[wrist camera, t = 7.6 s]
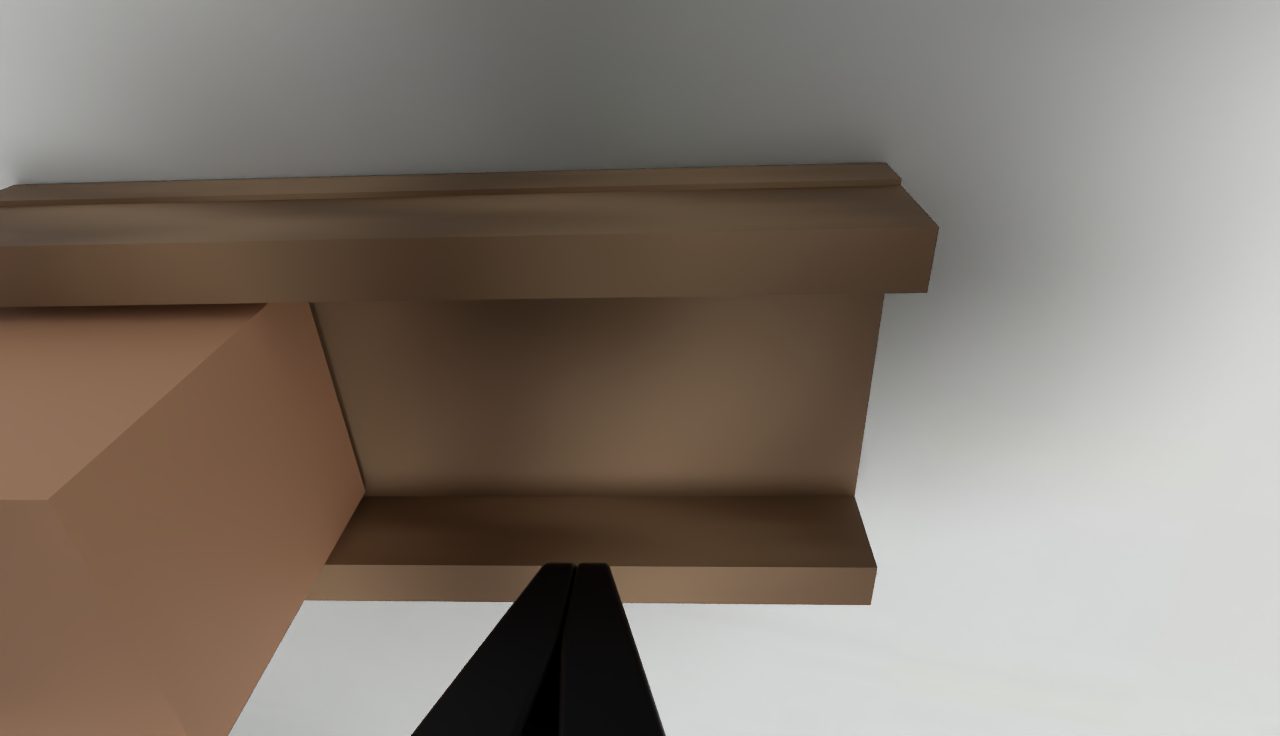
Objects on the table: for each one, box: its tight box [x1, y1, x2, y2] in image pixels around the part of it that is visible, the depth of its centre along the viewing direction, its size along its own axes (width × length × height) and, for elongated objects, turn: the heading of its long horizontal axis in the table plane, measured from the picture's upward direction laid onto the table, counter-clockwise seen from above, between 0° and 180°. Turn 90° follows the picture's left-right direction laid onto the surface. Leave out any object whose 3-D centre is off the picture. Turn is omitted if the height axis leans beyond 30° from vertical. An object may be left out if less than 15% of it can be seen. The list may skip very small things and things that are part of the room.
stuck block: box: [0, 302, 365, 736], centre depth 12 cm, size 5×5×6 cm
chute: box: [0, 163, 939, 605], centre depth 14 cm, size 16×8×3 cm, turn 92°
